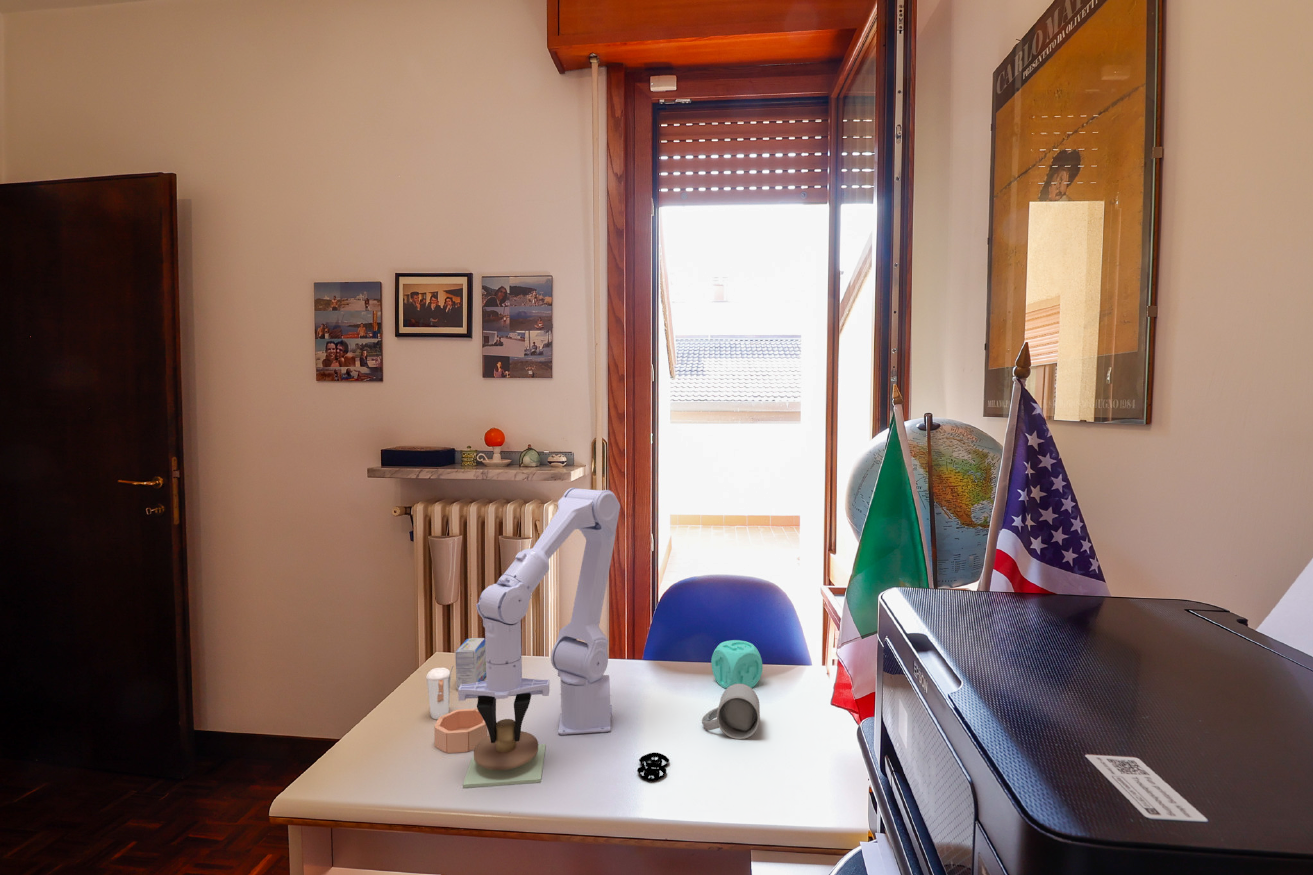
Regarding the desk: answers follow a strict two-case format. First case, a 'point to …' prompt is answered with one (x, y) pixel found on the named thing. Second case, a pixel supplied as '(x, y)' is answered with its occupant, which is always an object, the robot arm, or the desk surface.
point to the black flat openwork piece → (652, 766)
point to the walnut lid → (505, 748)
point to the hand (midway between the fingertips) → (505, 739)
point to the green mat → (506, 773)
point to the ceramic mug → (735, 713)
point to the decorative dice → (736, 664)
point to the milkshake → (439, 691)
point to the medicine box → (471, 661)
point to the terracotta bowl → (460, 731)
